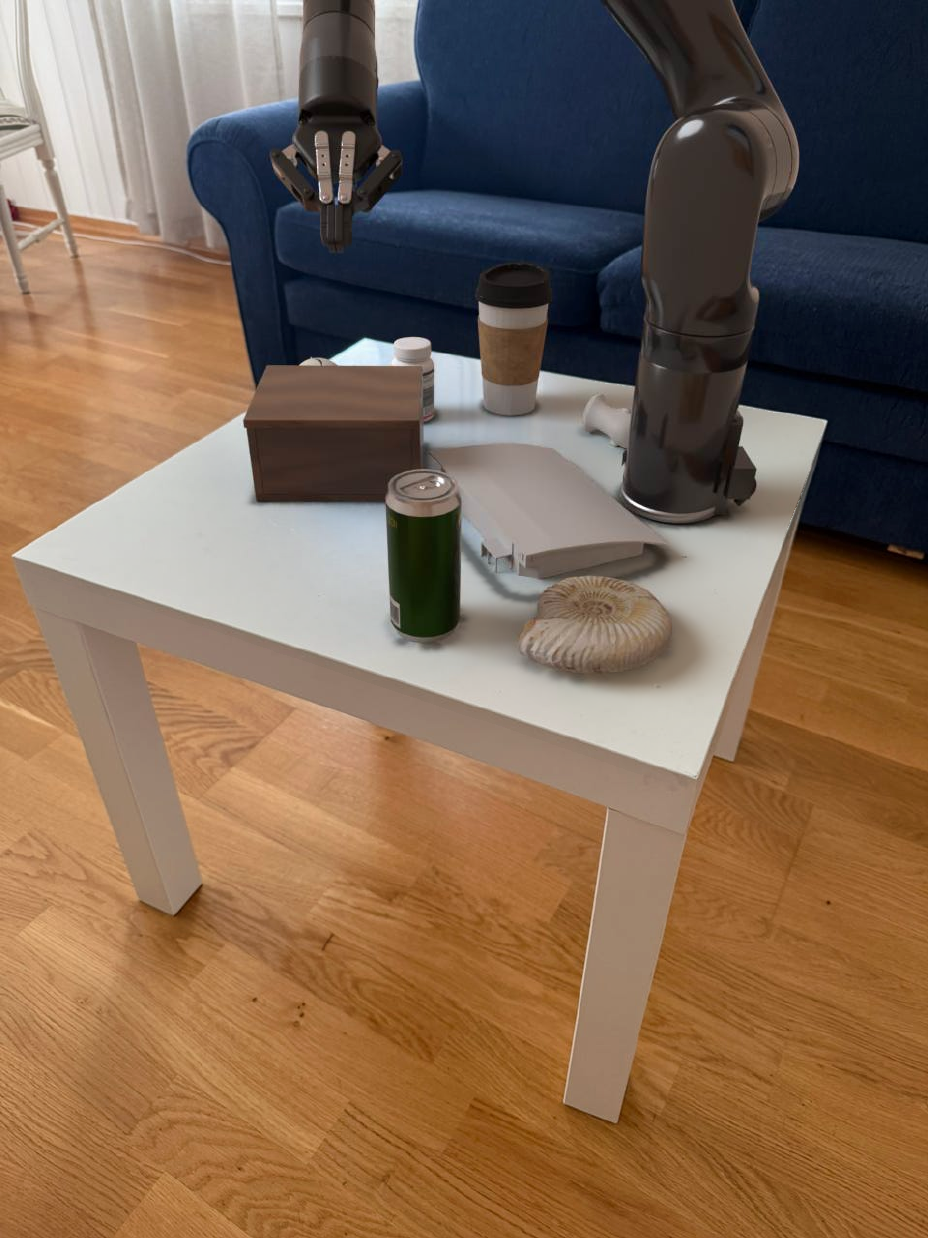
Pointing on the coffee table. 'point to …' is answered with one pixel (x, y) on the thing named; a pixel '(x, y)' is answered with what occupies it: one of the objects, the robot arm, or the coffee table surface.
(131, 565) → the coffee table surface
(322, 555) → the coffee table surface
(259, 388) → the lid
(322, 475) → the chest
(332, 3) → the robot arm
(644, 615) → the fossil
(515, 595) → the coffee table surface
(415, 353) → the pill bottle
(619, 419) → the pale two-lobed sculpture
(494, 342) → the coffee cup
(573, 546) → the white stadium model
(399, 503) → the beer can
